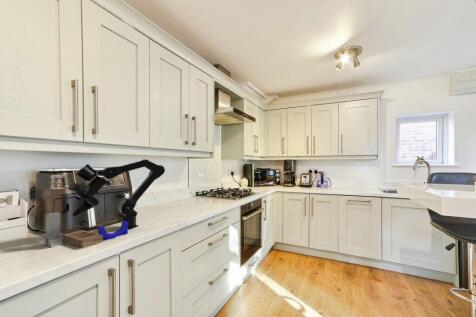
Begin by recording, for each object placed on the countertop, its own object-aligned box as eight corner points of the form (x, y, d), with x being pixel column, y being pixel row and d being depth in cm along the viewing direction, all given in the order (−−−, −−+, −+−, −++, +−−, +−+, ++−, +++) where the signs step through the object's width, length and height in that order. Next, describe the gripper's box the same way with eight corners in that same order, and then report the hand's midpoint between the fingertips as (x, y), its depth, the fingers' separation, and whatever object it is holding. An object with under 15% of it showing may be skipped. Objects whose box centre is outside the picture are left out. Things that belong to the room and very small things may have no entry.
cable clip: (101, 241, 98) (101, 228, 98) (97, 239, 100) (98, 226, 101) (129, 234, 107) (129, 222, 107) (124, 233, 110) (125, 220, 110)
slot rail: (62, 241, 97) (62, 234, 97) (82, 236, 104) (82, 229, 104) (82, 248, 90) (83, 240, 90) (102, 242, 97) (102, 235, 97)
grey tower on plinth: (42, 244, 93) (43, 213, 93) (54, 241, 97) (54, 212, 97) (51, 247, 90) (51, 215, 90) (62, 244, 93) (63, 213, 94)
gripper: (70, 175, 108) (41, 201, 98) (93, 177, 99) (63, 205, 89) (87, 190, 115) (62, 215, 105) (109, 192, 106) (84, 220, 96)
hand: (67, 214), depth 98 cm, fingers open, 9 cm apart
